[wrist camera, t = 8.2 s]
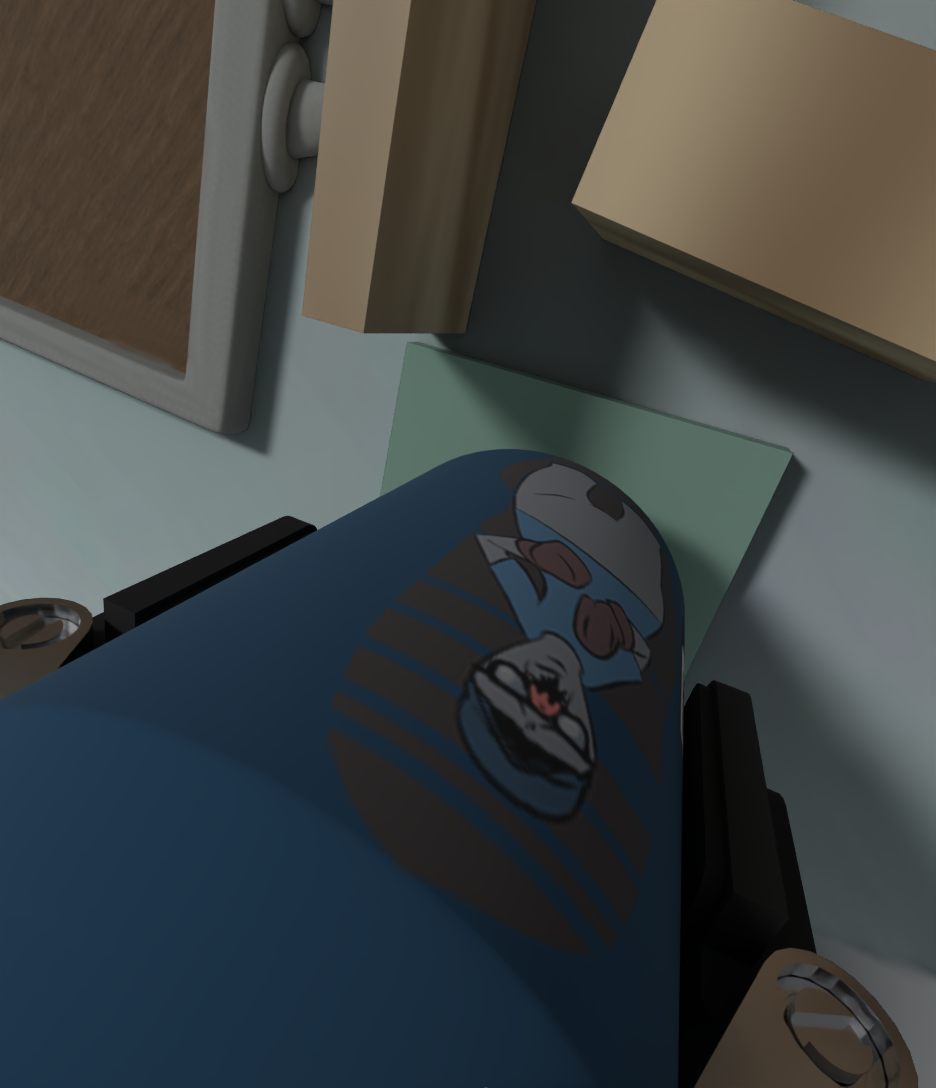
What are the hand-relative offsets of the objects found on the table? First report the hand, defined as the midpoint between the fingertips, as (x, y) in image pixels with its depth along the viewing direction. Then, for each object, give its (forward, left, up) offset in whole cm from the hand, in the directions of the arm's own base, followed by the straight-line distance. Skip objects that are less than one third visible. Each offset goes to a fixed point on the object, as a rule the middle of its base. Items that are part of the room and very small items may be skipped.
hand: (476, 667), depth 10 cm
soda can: (0, 0, -4) cm, 4 cm away
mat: (0, 0, -6) cm, 6 cm away
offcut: (-3, -8, -6) cm, 11 cm away
